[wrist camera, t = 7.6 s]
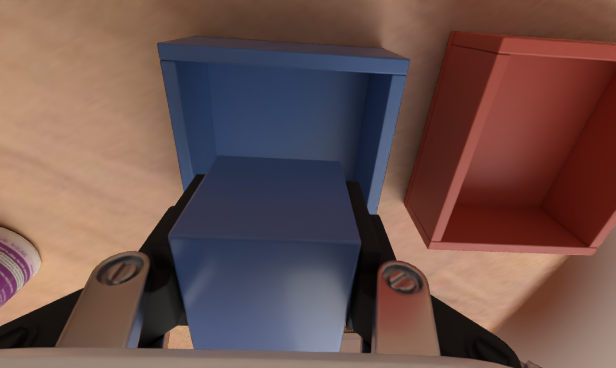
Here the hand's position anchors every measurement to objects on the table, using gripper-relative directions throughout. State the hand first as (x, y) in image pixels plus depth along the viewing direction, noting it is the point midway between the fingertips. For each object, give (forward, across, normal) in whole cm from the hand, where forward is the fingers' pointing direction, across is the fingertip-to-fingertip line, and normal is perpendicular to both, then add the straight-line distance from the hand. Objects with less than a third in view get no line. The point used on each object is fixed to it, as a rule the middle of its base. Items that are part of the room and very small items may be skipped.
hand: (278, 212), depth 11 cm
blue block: (0, 0, 0) cm, 0 cm away
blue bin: (+7, 0, 0) cm, 7 cm away
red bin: (+7, -13, -1) cm, 15 cm away
